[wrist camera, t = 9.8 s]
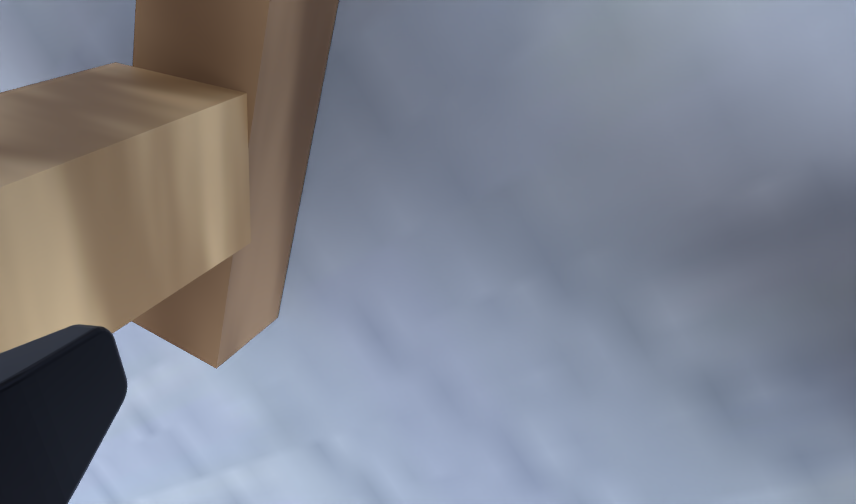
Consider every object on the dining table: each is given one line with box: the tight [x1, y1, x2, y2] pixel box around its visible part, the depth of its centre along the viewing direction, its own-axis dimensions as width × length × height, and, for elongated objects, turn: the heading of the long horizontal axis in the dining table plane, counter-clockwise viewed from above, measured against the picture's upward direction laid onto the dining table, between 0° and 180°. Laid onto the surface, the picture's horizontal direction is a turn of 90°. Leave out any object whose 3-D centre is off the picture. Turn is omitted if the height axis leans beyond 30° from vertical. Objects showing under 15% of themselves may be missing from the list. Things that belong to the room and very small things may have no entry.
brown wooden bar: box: [132, 0, 339, 369], centre depth 22 cm, size 4×18×4 cm, turn 163°
